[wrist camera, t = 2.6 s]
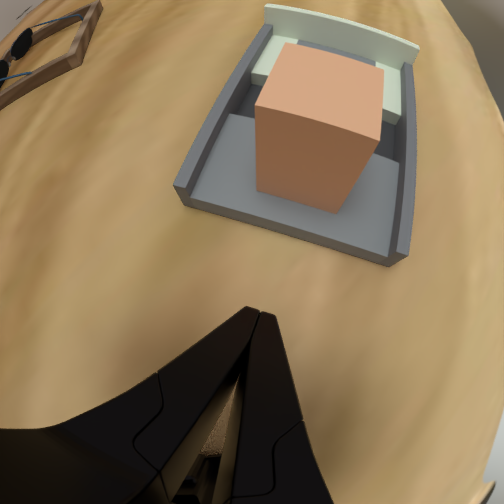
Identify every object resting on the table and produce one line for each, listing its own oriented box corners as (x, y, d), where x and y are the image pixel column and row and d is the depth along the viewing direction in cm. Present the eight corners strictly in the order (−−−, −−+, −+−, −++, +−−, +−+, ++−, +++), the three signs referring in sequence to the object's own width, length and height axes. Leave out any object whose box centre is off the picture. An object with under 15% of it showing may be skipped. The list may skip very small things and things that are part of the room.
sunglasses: (35, 41, 35) (28, 25, 30) (89, 29, 36) (83, 10, 31) (-9, 101, 30) (-21, 85, 25) (44, 90, 31) (32, 70, 27)
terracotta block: (336, 214, 21) (379, 141, 12) (256, 190, 21) (254, 105, 12) (349, 150, 22) (384, 69, 13) (278, 129, 23) (285, 42, 14)
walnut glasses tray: (81, 65, 30) (74, 53, 27) (-24, 127, 29) (-32, 120, 27) (103, 8, 36) (99, -1, 33) (10, 57, 35) (6, 50, 32)
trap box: (388, 267, 21) (426, 245, 16) (183, 205, 23) (162, 166, 17) (402, 80, 27) (418, 45, 21) (266, 42, 29) (266, 3, 23)
